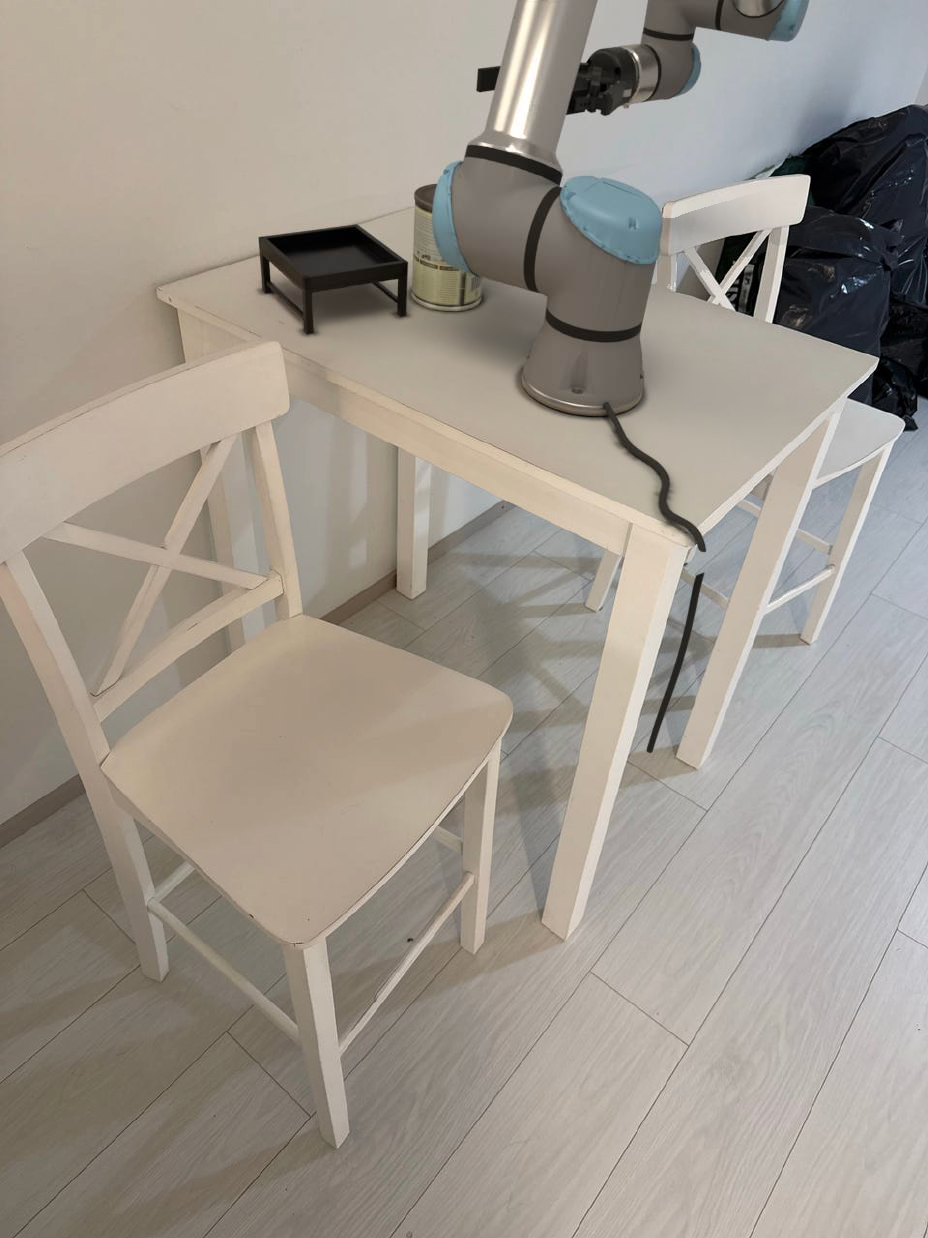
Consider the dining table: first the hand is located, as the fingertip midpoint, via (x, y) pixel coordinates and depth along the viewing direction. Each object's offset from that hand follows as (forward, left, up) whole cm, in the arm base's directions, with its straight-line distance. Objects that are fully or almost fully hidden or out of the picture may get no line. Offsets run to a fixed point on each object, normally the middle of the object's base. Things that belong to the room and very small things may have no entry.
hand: (513, 92), depth 120 cm
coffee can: (-2, +10, -26) cm, 27 cm away
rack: (+2, +26, -25) cm, 36 cm away
